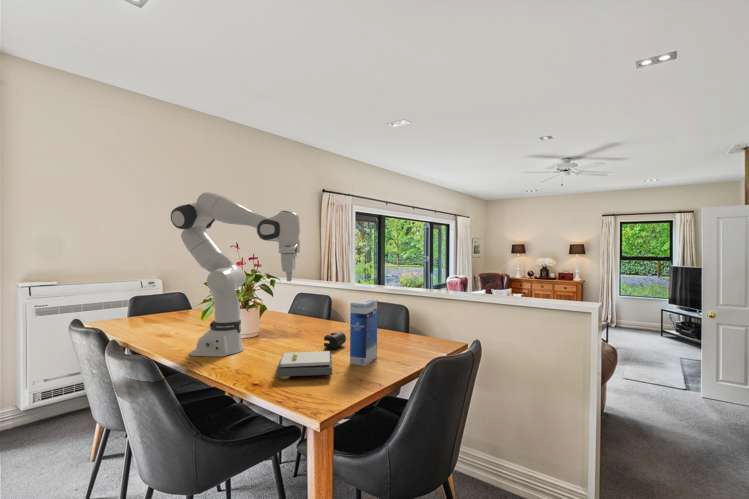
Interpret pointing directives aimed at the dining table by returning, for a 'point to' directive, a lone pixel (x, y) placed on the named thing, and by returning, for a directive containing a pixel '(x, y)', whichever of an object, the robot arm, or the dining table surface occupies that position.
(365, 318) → the string lights box
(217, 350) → the robot arm
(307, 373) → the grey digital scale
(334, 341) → the end cap
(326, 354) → the level plate
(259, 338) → the dining table surface
